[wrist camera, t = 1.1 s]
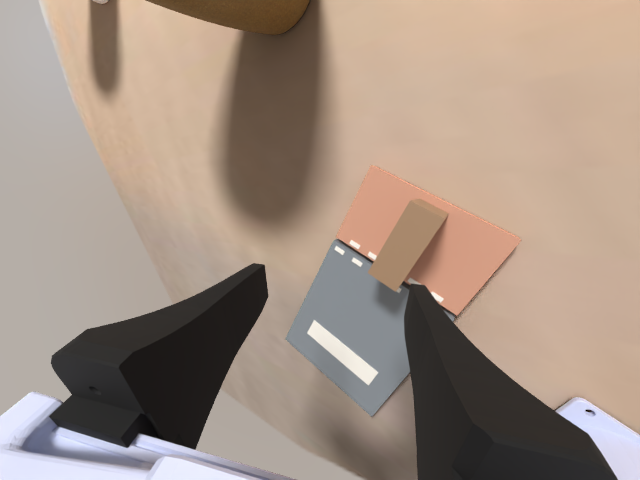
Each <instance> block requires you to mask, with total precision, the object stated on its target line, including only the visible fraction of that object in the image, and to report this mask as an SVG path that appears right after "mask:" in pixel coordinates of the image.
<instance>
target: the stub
mask: <svg viewBox="0 0 640 480" xmlns="http://www.w3.org/2000/svg"><path fill="white" fill-rule="evenodd" d="M336 237H337V238H338V239H340V240H341V241H343V242H345V243H346V244H348V245H349V246H351V247H352V248H354V249H355V250H357V251H358V252H360V253H361V254H363V255H365V256H366V257H368V258H369V259H371V260H372V261H374V262H373V264H372V266H371V267H370V269H369V271H368V274H370V275H371V276H373V277H374V278H376V279H377V280H379V281H380V282H382V283H383V284H385V285H386V286H388V287H389V288H391V289H392V290H394V291H395V292H396V291H397V290H398V288H399V287H400V285H401V284H402V282H403V281H405V282H406V283H408V284H409V285H411V283H412V284H420V285H425V286H426V287H427V288H428V290H429V291H430V293H431V294H432V295H433V297H434V298H435V300H436V301H437V302H438V303H439V304H440V305H442V306H443V307H445V308H446V309H448V310H449V311H451V312H452V313H454V314H455V315H457V316H458V314H459V313H460V312H461V311H462V310H463V308H464V307H465V306H466V305H467V304H468V303H469V301H470V300H471V299H472V298H473V297H474V296H475V294H476V293H477V292H478V291H479V290H480V288H481V287H482V286H483V285H484V284H485V283H486V281H487V280H488V279H489V278H490V277H491V276H492V274H493V273H494V272H495V271H496V270H497V268H498V267H499V266H500V265H501V264H502V263H503V261H504V260H505V259H506V258H507V257H508V256H509V254H510V253H511V252H512V251H513V250H514V248H515V247H516V246H517V245H518V244H519V243H520V241H521V239H520V238H519V237H517V236H515V235H513V234H511V233H509V232H507V231H505V230H503V229H501V228H499V227H497V226H495V225H493V224H491V223H489V222H487V221H485V220H483V219H481V218H478V217H476V216H474V215H472V214H470V213H468V212H466V211H464V210H462V209H460V208H458V207H456V206H454V205H452V204H450V203H448V202H446V201H444V200H442V199H440V198H438V197H436V196H434V195H432V194H430V193H428V192H426V191H424V190H422V189H420V188H418V187H416V186H414V185H412V184H410V183H408V182H406V181H404V180H402V179H400V178H398V177H396V176H394V175H392V174H390V173H388V172H386V171H384V170H382V169H380V168H378V167H376V166H373V165H371V166H370V168H369V170H368V172H367V174H366V176H365V178H364V180H363V182H362V185H361V187H360V189H359V191H358V193H357V195H356V197H355V199H354V201H353V203H352V205H351V207H350V209H349V211H348V213H347V215H346V217H345V219H344V221H343V223H342V225H341V227H340V229H339V231H338V233H337V235H336Z"/></svg>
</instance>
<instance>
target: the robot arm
mask: <svg viewBox="0 0 640 480" xmlns="http://www.w3.org/2000/svg"><path fill="white" fill-rule="evenodd" d="M267 298H268V289H267V281H266V273H265V265H263V264H255V263H253V264H251V265H249V266H248V267H246V268H244V269H242V270H240V271H239V272H237V273H235V274H234V275H232V276H230V277H228V278H227V279H225V280H223V281H222V282H220V283H218V284H216V285H214V286H212V287H210V288H208V289H207V290H205V291H203V292H201V293H199V294H197V295H195V296H192V297H190V298H188V299H186V300H183V301H181V302H179V303H176V304H174V305H171V306H168V307H165V308H163V309H160V310H157V311H155V312H152V313H149V314H145V315H142V316H139V317H135V318H132V319H128V320H125V321H121V322H117V323H113V324H108V325H104V326H100V327H96V328H91V329H87V330H85V331H84V332H83V333H81V334H80V335H79V336H77V337H76V338H75V339H73V340H72V341H71V342H70V343H68V344H67V345H65V346H64V347H63V348H61V349H60V350H59V351H58V352H56V353H55V354H54V355H52V360H51V364H52V367H53V369H54V371H55V372H56V374H57V375H58V377H59V378H60V379H61V381H62V382H63V383H64V385H66V387H67V388H68V390H69V391H70V392H71V394H73V395H71V396H70V397H69V398H68V399H67V400H66V401H65V402H64V403H63V402H62V401H61V400H59V399H57V398H55V397H51V396H48V395H44V394H41V393H37V392H30V393H29V394H28V395H26V396H25V397H24V398H23V399H21V400H20V401H19V402H18V403H16V404H15V405H14V406H13V407H11V408H10V409H9V410H8V411H6V412H5V413H4V414H3V415H1V416H0V480H296V479H293V478H289V477H286V476H283V475H279V474H276V473H273V472H269V471H266V470H262V469H259V468H256V467H252V466H249V465H245V464H242V463H239V462H235V461H231V460H228V459H225V458H222V457H218V456H215V455H211V454H208V453H204V452H201V451H198V450H195V449H196V446H197V444H198V441H199V439H200V436H201V433H202V431H203V428H204V426H205V423H206V420H207V418H208V416H209V413H210V411H211V408H212V406H213V404H214V401H215V398H216V396H217V394H218V392H219V390H220V388H221V385H222V383H223V381H224V379H225V376H226V374H227V372H228V370H229V368H230V366H231V364H232V362H233V360H234V358H235V356H236V354H237V352H238V350H239V349H240V347H241V345H242V344H243V342H244V341H245V339H246V337H247V336H248V334H249V332H250V331H251V329H252V327H253V326H254V324H255V322H256V321H257V319H258V317H259V316H260V314H261V312H262V310H263V308H264V305H265V303H266V301H267ZM404 334H405V343H406V349H407V355H408V361H409V367H410V374H411V380H412V386H413V395H414V409H415V426H416V445H417V469H418V480H640V435H639V434H638V433H636V432H634V431H633V430H631V429H630V428H628V427H627V426H625V425H624V424H622V423H621V422H619V421H618V420H616V419H614V418H613V417H611V416H610V415H608V414H607V413H605V412H604V411H602V410H601V409H599V408H598V407H596V406H594V405H593V404H591V403H590V402H588V401H587V400H585V399H583V398H579V397H575V398H572V399H571V400H569V401H568V402H567V403H565V404H564V405H563V406H561V407H560V408H559V409H557V410H556V411H554V410H552V409H551V408H550V407H548V406H547V405H545V404H544V403H543V402H541V401H540V400H539V399H537V398H536V397H535V396H533V395H532V394H531V393H529V392H528V391H527V390H525V389H524V388H523V387H521V386H520V385H519V384H518V383H516V382H515V381H514V380H512V379H511V378H510V377H509V376H508V375H506V374H505V373H504V372H503V371H502V370H501V369H499V368H498V367H497V366H496V365H495V364H494V363H492V362H491V361H490V360H489V359H488V358H487V357H486V356H485V355H484V354H483V353H482V352H481V351H480V350H479V349H477V348H476V347H475V346H474V345H473V344H472V343H471V342H470V341H469V340H468V339H467V337H466V336H465V335H464V334H463V333H462V332H461V331H460V330H459V329H458V327H457V326H456V325H455V324H454V323H453V322H452V320H451V319H450V318H449V317H448V315H447V314H446V313H445V312H444V310H443V309H442V308H441V306H440V305H439V304H438V302H437V301H436V300H435V298H434V297H433V295H432V294H431V293H430V291H429V290H428V288H427V287H426V286H425V285H420V284H412V283H411V285H410V290H409V295H408V299H407V304H406V309H405V314H404ZM588 409H589V410H593V411H592V412H586V411H585V410H588Z"/></svg>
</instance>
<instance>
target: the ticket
mask: <svg viewBox="0 0 640 480" xmlns="http://www.w3.org/2000/svg"><path fill="white" fill-rule="evenodd" d="M373 262H374V261H372V260H371V259H369V258H368V257H366V256H365V255H363V254H361V253H360V252H358V251H357V250H355V249H354V248H352V247H351V246H349V245H348V244H346V243H345V242H343V241H341V240H340V239H336V240H334V241H333V243H332V245H331V247H330V249H329V251H328V253H327V255H326V257H325V259H324V261H323V263H322V265H321V267H320V269H319V271H318V273H317V275H316V277H315V279H314V282H313V284H312V286H311V288H310V290H309V292H308V294H307V296H306V298H305V300H304V302H303V304H302V306H301V308H300V310H299V312H298V314H297V316H296V318H295V320H294V322H293V324H292V326H291V328H290V330H289V332H288V334H287V337H286V340H287V341H288V342H289V343H290V344H291V345H292V346H294V347H295V348H296V349H297V350H298V351H299V352H300V353H301V354H302V355H304V356H305V357H306V358H307V359H308V360H309V361H310V362H311V363H312V364H314V365H315V366H316V367H317V368H318V369H319V370H320V371H321V372H322V373H324V374H325V375H326V376H327V377H328V378H329V379H330V380H331V381H332V382H334V383H335V384H336V385H337V386H338V387H339V388H340V389H341V390H343V391H344V392H345V393H346V394H347V395H348V396H349V397H350V398H351V399H353V400H354V401H355V402H356V403H357V404H358V405H359V406H360V407H361V408H363V409H364V410H365V411H366V412H367V413H368V414H369V415H370V416H371V417H372V416H373V415H374V414H375V412H376V411H377V410H378V409H379V408H380V406H381V405H382V404H383V403H384V402H385V401H386V399H387V398H388V397H389V396H390V395H391V394H392V392H393V391H394V390H395V389H396V388H397V387H398V385H399V384H400V383H401V382H402V381H403V379H404V378H405V377H406V376H407V375H408V374H409V372H410V367H409V361H408V355H407V349H406V343H405V334H404V314H405V309H406V304H407V299H408V295H409V290H410V285H409V284H408V283H406V282H405V281H403V282H402V284H401V285H400V287H399V288H398V290H397V291H396V292H395V291H394V290H392V289H391V288H389V287H388V286H386V285H385V284H383V283H382V282H380V281H379V280H377V279H376V278H374V277H373V276H371V275H370V274H368V271H369V269H370V267H371V266H372V264H373ZM438 304H439V303H438ZM439 305H440V304H439ZM440 306H441V308H442V309H443V310H444V312H445V313H446V314H447V315H448V317H449V318H450V319H451V320H452V322H453V321H454V317H455V314H454V313H452V312H451V311H449V310H448V309H446V308H445V307H443V306H442V305H440Z"/></svg>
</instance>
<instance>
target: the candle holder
mask: <svg viewBox="0 0 640 480" xmlns="http://www.w3.org/2000/svg"><path fill="white" fill-rule="evenodd" d="M92 1H94V2H97V3H100V4H105V3H107V2H108V1H109V0H92Z"/></svg>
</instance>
